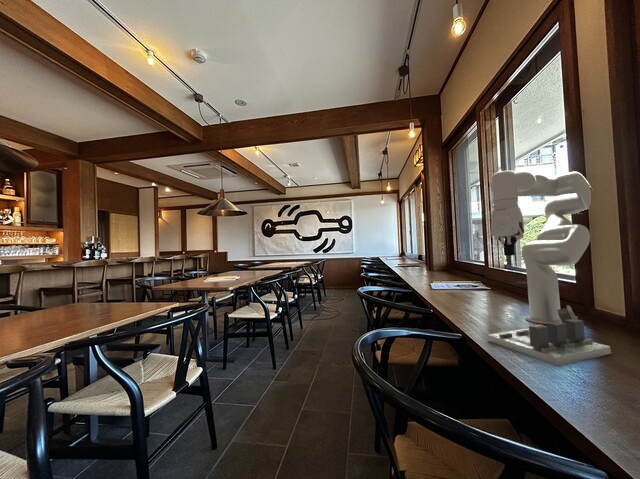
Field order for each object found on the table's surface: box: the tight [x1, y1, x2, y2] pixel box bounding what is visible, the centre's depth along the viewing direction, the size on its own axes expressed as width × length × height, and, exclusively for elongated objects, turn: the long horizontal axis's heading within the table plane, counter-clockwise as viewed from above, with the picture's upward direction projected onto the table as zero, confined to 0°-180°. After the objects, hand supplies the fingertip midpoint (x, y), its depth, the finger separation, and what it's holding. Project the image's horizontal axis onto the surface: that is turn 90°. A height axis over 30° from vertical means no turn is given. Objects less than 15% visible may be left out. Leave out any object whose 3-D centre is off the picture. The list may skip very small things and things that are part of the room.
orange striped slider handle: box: [528, 324, 549, 349], centre depth 78 cm, size 4×3×6 cm
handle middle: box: [546, 322, 567, 345], centre depth 80 cm, size 4×3×6 cm
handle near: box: [565, 319, 586, 341], centre depth 81 cm, size 4×3×6 cm
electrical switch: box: [557, 304, 579, 323], centre depth 92 cm, size 9×5×9 cm, turn 141°
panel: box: [487, 327, 612, 367], centre depth 83 cm, size 20×21×3 cm
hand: (509, 255), depth 101 cm, fingers closed
